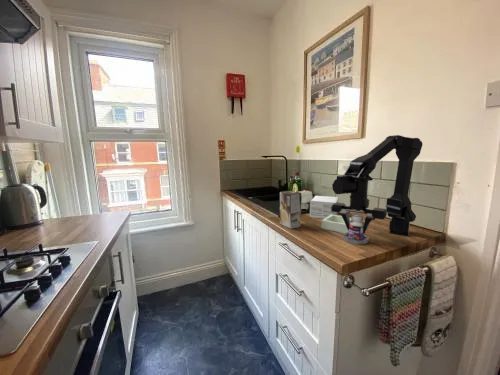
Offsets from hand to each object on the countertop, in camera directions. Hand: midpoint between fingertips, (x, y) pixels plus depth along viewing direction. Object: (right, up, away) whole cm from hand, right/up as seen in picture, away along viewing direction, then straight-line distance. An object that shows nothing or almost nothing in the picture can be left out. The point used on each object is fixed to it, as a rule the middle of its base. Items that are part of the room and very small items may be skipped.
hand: (356, 231), depth 86 cm
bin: (-1, -1, +14) cm, 15 cm away
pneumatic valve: (-9, +4, +49) cm, 49 cm away
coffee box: (-23, -1, +19) cm, 30 cm away
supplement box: (0, +2, +37) cm, 37 cm away
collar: (0, -4, 0) cm, 4 cm away
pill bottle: (0, -4, +1) cm, 4 cm away
